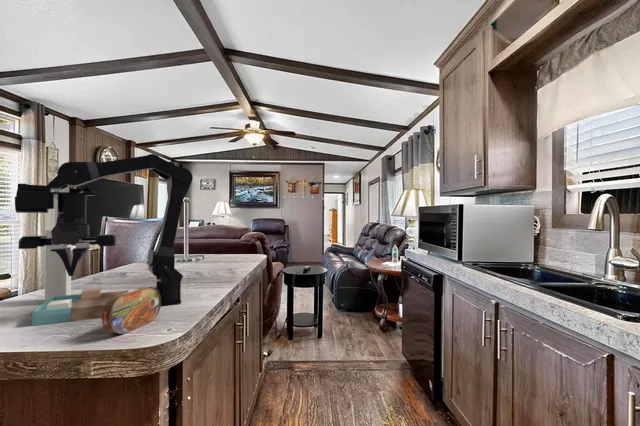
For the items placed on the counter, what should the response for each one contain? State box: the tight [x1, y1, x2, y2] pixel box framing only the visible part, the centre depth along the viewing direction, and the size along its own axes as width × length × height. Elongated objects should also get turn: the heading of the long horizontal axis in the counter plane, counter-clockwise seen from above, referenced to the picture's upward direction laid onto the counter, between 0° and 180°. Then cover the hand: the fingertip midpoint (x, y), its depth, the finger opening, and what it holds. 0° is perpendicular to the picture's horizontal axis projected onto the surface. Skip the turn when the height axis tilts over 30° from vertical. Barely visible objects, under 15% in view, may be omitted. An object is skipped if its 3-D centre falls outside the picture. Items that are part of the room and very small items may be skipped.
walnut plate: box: [69, 289, 129, 322], centre depth 86 cm, size 11×16×3 cm
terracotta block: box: [80, 286, 102, 299], centre depth 88 cm, size 4×4×2 cm
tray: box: [31, 293, 81, 327], centre depth 82 cm, size 7×16×3 cm, turn 28°
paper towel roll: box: [44, 229, 72, 302], centre depth 95 cm, size 7×6×21 cm
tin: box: [101, 286, 161, 335], centre depth 72 cm, size 15×3×8 cm, turn 168°
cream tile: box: [47, 299, 72, 310], centre depth 79 cm, size 4×4×2 cm
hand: (71, 275), depth 80 cm, fingers closed
